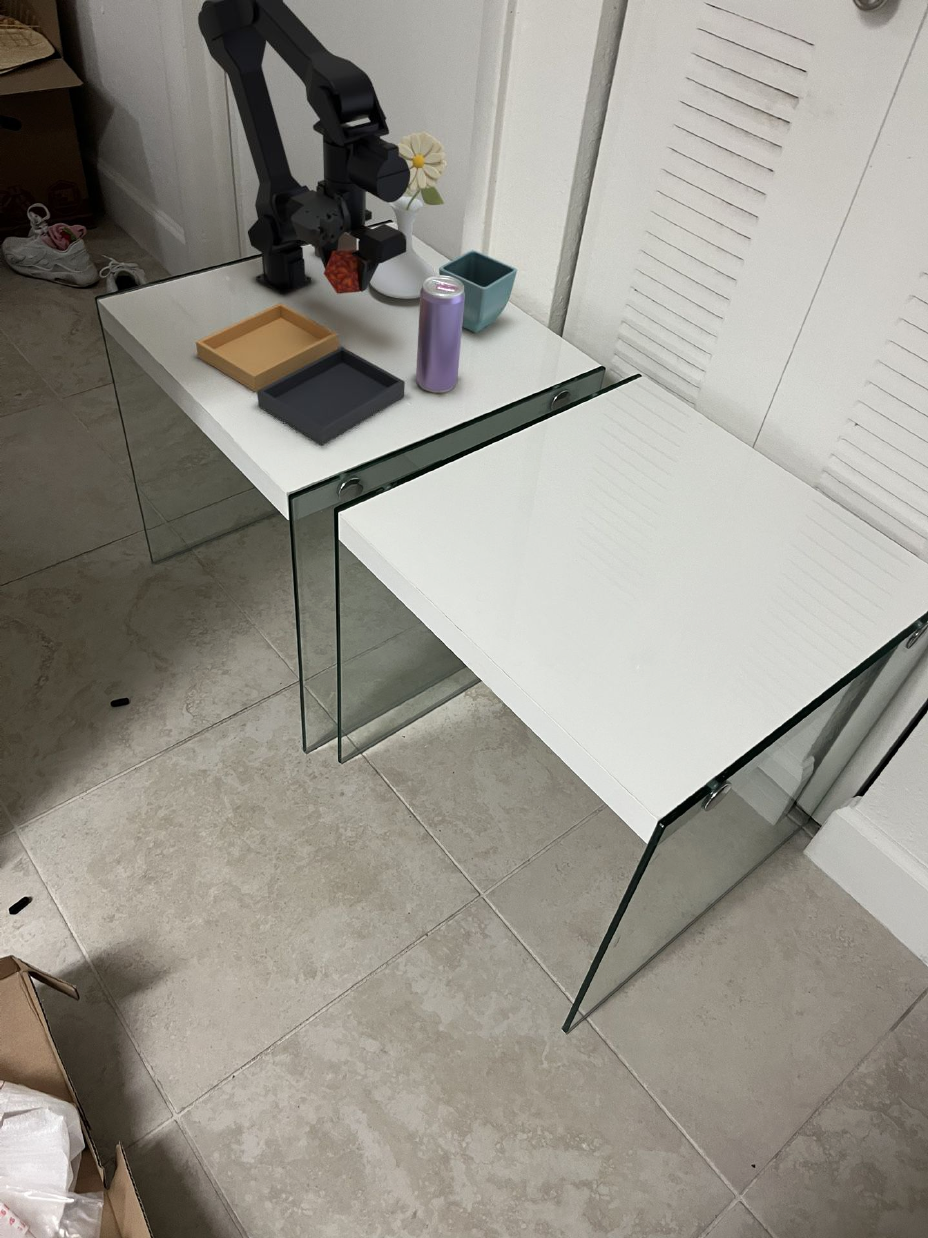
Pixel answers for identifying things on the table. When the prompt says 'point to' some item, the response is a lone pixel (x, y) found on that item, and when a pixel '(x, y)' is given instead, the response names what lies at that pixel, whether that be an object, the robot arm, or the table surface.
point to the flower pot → (481, 287)
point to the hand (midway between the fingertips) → (346, 281)
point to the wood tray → (267, 346)
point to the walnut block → (344, 243)
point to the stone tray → (331, 395)
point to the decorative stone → (342, 272)
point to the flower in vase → (412, 217)
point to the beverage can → (439, 333)
